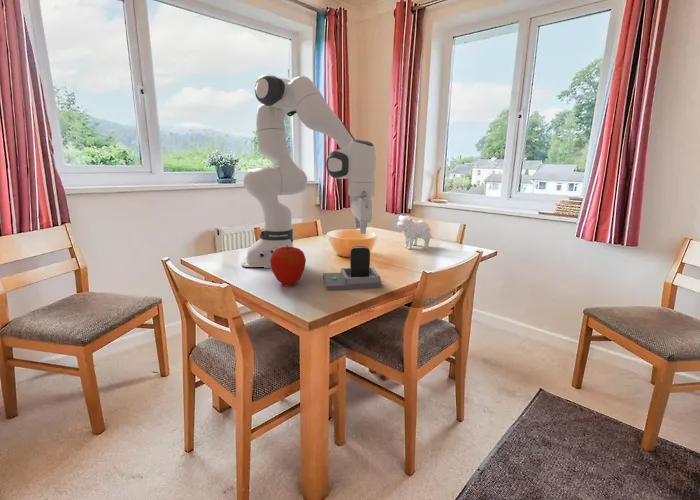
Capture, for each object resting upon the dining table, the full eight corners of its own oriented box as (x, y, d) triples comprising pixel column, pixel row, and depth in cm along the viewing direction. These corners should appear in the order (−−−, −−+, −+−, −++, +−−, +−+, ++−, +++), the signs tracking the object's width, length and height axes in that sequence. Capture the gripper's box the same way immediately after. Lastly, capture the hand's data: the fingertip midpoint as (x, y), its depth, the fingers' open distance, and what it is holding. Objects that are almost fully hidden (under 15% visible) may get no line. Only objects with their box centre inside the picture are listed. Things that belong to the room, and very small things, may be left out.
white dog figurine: (424, 242, 193) (426, 211, 189) (439, 246, 185) (442, 213, 180) (388, 248, 179) (390, 215, 175) (403, 253, 170) (405, 218, 166)
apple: (312, 286, 125) (311, 246, 122) (279, 292, 119) (277, 250, 115) (297, 276, 135) (296, 239, 132) (266, 281, 129) (264, 243, 125)
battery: (369, 275, 132) (369, 245, 129) (369, 279, 128) (370, 247, 125) (349, 275, 132) (350, 245, 129) (350, 279, 128) (350, 247, 125)
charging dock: (326, 290, 121) (326, 280, 120) (323, 277, 135) (323, 268, 134) (382, 287, 124) (382, 278, 123) (373, 275, 138) (373, 266, 137)
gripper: (377, 193, 112) (375, 237, 116) (364, 187, 132) (363, 224, 136) (357, 193, 111) (356, 237, 115) (347, 187, 131) (346, 225, 135)
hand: (360, 230), depth 125 cm, fingers open, 8 cm apart
